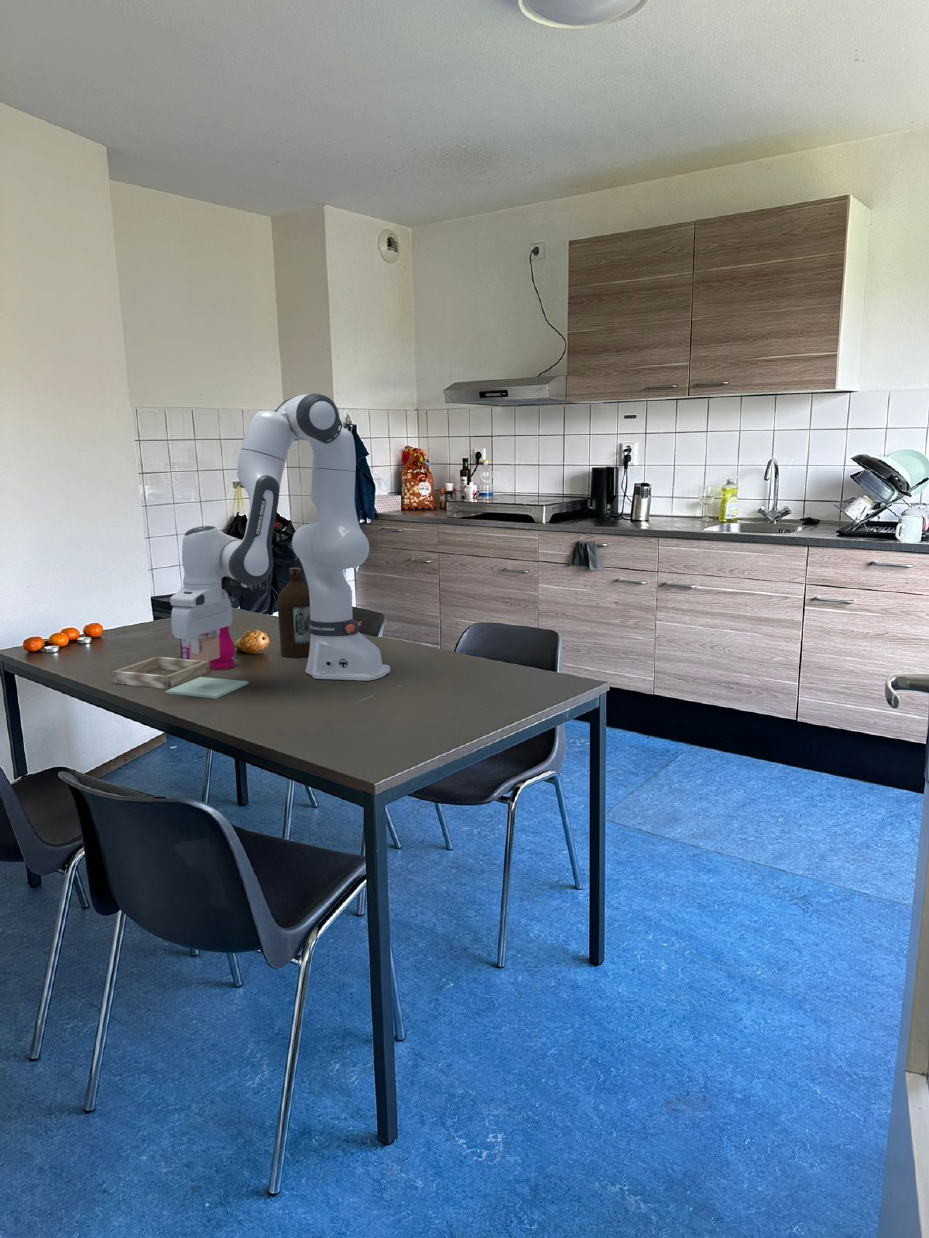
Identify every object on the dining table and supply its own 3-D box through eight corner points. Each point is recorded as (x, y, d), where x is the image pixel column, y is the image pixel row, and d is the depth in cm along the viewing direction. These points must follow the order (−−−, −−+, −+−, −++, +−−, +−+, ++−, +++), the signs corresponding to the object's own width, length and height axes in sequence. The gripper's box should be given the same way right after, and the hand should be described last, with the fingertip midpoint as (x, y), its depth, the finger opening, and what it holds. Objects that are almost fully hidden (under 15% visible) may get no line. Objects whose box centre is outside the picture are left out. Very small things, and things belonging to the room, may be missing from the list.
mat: (248, 683, 217) (248, 681, 217) (216, 698, 204) (216, 696, 204) (200, 679, 222) (200, 676, 221) (166, 693, 208) (165, 690, 208)
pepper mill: (228, 670, 230) (225, 596, 226) (203, 669, 232) (199, 595, 228) (240, 664, 237) (237, 592, 233) (216, 663, 239) (212, 591, 235)
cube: (219, 657, 213) (219, 637, 212) (207, 661, 208) (207, 641, 207) (202, 655, 214) (201, 635, 214) (190, 659, 210) (189, 639, 209)
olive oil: (271, 653, 250) (268, 568, 245) (302, 648, 257) (300, 564, 252) (292, 660, 242) (289, 571, 238) (323, 654, 249) (321, 568, 245)
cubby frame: (209, 672, 228) (208, 661, 228) (168, 689, 212) (167, 677, 212) (156, 667, 233) (156, 656, 233) (112, 683, 217) (111, 671, 216)
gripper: (216, 587, 219) (218, 641, 222) (165, 599, 200) (168, 657, 202) (237, 589, 217) (239, 643, 220) (188, 601, 198) (191, 659, 201)
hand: (204, 650), depth 211 cm, fingers closed on cube, 5 cm apart
